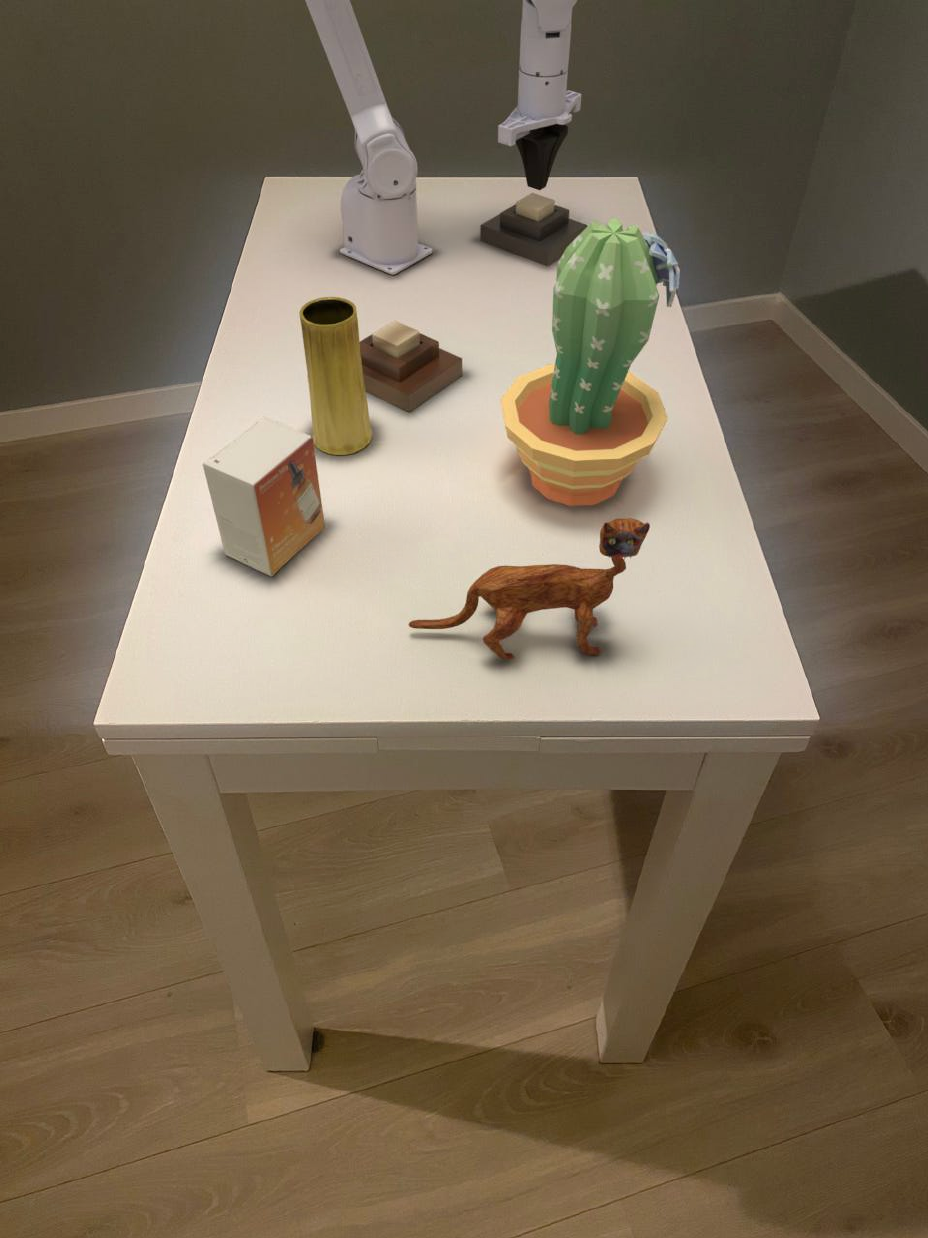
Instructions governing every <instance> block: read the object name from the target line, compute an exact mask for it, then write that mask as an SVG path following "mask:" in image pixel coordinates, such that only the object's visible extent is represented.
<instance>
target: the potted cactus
mask: <svg viewBox="0 0 928 1238" xmlns="http://www.w3.org/2000/svg"><path fill="white" fill-rule="evenodd" d="M587 225H588V227H587V228H586V229H585V230H584V231H583V232H582V233H581V234H580V235H579V236H578V237H577V238H576V239H575V240H574V241H573V242H572V243H571V244H570V245H569V246H568V247H567V248H566V250H565V252H564V253H563V255H562V257H561V258H559V259H558V262H557V264H556V281H555V284H554V286H553V287H552V288H553V290H552V318H551V319H552V321H551V332H552V337H553V342H554V346H555V351H556V357H555V361H554V363H550V364H547V365H545V366H542V367H539V368H537V369H534V370H532V371H530V372H527V373H525V374H522V375H520V376H517V377H516V379H514V381H513V382H512V384H511V385H510V386H509V388H508V389H507V390H506V391H505V393H504V394H503V395H502V397H501V398H500V404H501V410H502V417H503V421H504V427H505V431H506V437H507V439H509V440H510V441H511V442H512V444H514V445H515V446H516V449H517V452H518V454H519V457H520V459H521V462H522V463H523V464H524V465H525V467H527V469H528V470H529V474H530V479H531V485H532V487H533V488H535V489H536V490H537V491H538V493H540V494H541V495H542V496H544V498H546V499H547V500H549V501H552V502H556V503H559V504H563V505H566V506H568V507H579V506H595V505H597V504H599V503H601V502H603V501H606V500H607V499H610V498H613V497H614V495H616V492H617V491H618V488H619V487H620V485H621V483H622V480H623V479H625V478H626V477H627V476H629V475H630V474H631V473H632V471H633V469H634V468H635V467H636V465H637V463H638V462H639V460H640V459H642V458H645V457H647V456H649V455H650V453H651V452H652V450H653V447H654V446H655V444H656V443H657V441H658V439H659V437H660V435H661V433H662V432H663V429H664V427H665V426H666V423H667V421H668V418H669V417H668V415H667V414H668V413H667V411H666V409H665V406H664V403H663V401H662V398H661V396H660V393H659V392H658V391H657V390H655V389H654V388H653V387H652V386H650V385H649V384H647V383H646V382H644V381H643V380H642V379H640V378H639V377H637V376H636V375H634V374H633V373H632V372H630V371H629V370H630V368H631V365H632V364H633V363H634V361H635V360H636V359H637V357H638V356H639V354H640V353H641V351H642V350H643V349H644V347H645V346H646V345H647V343H648V342H649V339H650V336H651V332H652V329H653V323H654V319H655V316H656V312H657V307H658V303H659V300H660V293H659V289H658V287H657V286H658V284H662V286H663V287H665V290H666V292H665V293H666V307H667V308H672V306H673V304H674V299H675V297H676V292H677V290H679V288H680V286H679V285H680V275H681V273H680V272H681V269H680V268H679V266H678V265H679V263H678V261H677V259H676V257H675V255H674V253H673V251H672V249H670V248H669V247H668V244H667V243H666V242H665V240H663V239H662V238H661V237H660V236H659V235H658V234H655V233H649V232H642V231H641V230H640V228H639V226H637V225H636V224H634V225H630V226H628V227H627V228H626V230H623V224H622V222H621V219H620V218H618V217H611V219H610V220H609V221H608V222H607V223H606V225H603V224H602V223H600V222H597V221H595V220H593V221H591V222H590V223H589V224H587Z"/></svg>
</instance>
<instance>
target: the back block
mask: <svg viewBox="0 0 928 1238" xmlns="http://www.w3.org/2000/svg"><path fill="white" fill-rule="evenodd" d="M588 225H589V224H586V223H583V222H580V221H578V220H574V219H572V218H570V209H568V208H565V207H562V206H560V205H556V204H555V205H554V213H552V214H550V215H549V216H547V217H546V218H544V219H542V220H541V221H539V222H538V221H535V220H533V219H530V218H527V217H524V216H521V215H519V214H516V203H515V204H513V205H511V206H510V207H508V208H506V209H504V210H503V211H501V212H500V213H499V214H497V215H495V216H493V217H492V218H490V219H488V220H486V221H485V222H483V223H481V224H480V226H479V227H480V228H479V241H480V242H482V243H484V244H486V245H487V244H488V245H490V246H492V247H495V248H498V249H501V250H502V251H506V252H509V253H511V254H514V255H517V256H518V257H522V258H524V259H527V260H530V261H531V262H535V263H537V264H540V265H543V266H545V267H549V266H550V265H552V264H554V263H555V262H556V261H559V260H560V259H561V257H562V255H563V253H564V252H565V250H566V248H567V247H568V246H569V245H570V244H571V243H572V242H573V241H574V240H575V239H576V238H577V237H578V236H579V235H580V234H581V233H582V232H583V231H584V230H585V229H586V228H587V227H588Z"/></svg>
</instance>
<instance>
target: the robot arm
mask: <svg viewBox="0 0 928 1238" xmlns="http://www.w3.org/2000/svg"><path fill="white" fill-rule="evenodd" d="M304 1H305V4H306V7H307V8H308V11H309V14H310V17H311V20H312V21H313V24H314V26H315V27H314V28H315V29H316V32H317V35H318V37H319V40H320V42H321V45H322V47H323V50H324V52H325V55H326V57H327V60H328V63H329V65H330V67H331V70H332V73H333V76H334V78H335V80H336V84H337V86H338V89H339V91H340V93H341V95H342V96H341V97H342V99H343V102H344V104H345V107H346V109H347V111H348V114H349V116H350V119H351V122H352V124H353V127H354V140H353V141H354V142H353V143H354V149H355V153H356V155H357V157H358V158H359V160H360V164H361V166H362V169H361V172H360V174H356V175H354V176H352V177H351V178H350V179H349V180H348V181H347V182H346V183H345V184H344V187H343V189H342V192H341V197H340V213H341V223H342V224H341V225H342V235H343V244H344V247H342V248H340V249H339V251H340V254H342V255H344V256H346V257H349V258H351V259H353V260H356V261H357V262H358V261H359V262H361V263H363V264H365V265H368V266H370V267H373V268H375V269H377V270H379V271H382V272H384V273H387V274H389V275H393V276H394V275H396V274H398V273H400V272H401V271H404V270H405V269H407V268H409V267H411V266H412V265H414V264H416V263H417V262H419V261H421V260H422V259H425V258H426V257H427V256H429V255H432V254H433V251H434V249H433V248H432V247H429V246H426V245H425V244H422V243H420V242H419V230H418V229H419V228H418V227H419V226H418V200H417V199H418V198H417V180H416V179H417V177H418V172H419V171H418V169H419V167H418V162H417V158H416V157H415V155H414V152H412V151H411V149H410V147H409V143H408V142H407V140H406V135H405V132H404V130H403V128H402V126H401V125H400V124H399V122H398V121H397V120H396V119H395V118H393V116H392V114H391V111H390V109H389V107H388V104H387V101H386V98H385V95H384V92H383V90H382V86H381V84H380V81H379V79H378V76H377V72H376V70H375V67H374V64H373V62H372V59H371V56H370V53H369V49H368V48H367V45H366V42H365V39H364V36H363V33H362V31H361V27H360V24H359V22H358V19H357V17H356V14H355V11H354V8H353V5H352V3H351V0H304ZM577 2H578V0H522V11H521V13H522V14H521V23H520V39H519V40H520V41H519V63H518V64H519V65H518V67H519V69H518V88H517V89H518V90H517V106H516V107H515V108H514V109H513V110H512V111H511V113H510V115H509V116H508V117H507V118H506V119H505V121H503V122H502V123H500V124H498V126H497V127H498V128H497V143H499V144H502V145H504V146H508V147H513V146H515V145H516V147H517V149H518V152H519V154H520V157H521V160H522V161H521V162H522V165H523V169H524V175H525V180H526V185H527V187H528V188H531V189H534V190H537V191H542V190H543V189H545V188H546V187H547V185H548V181H549V178H550V175H551V173H552V168H553V166H554V162H555V160H556V157H557V154H558V152H559V150H560V148H561V146H562V144H563V142H564V140H565V139H566V137H567V136H568V135H569V127H568V124H569V123H570V122H572V121H573V120H572V119H573V115H572V114H571V112H572V113H577V112H579V111H581V103H582V93H579V92H576V91H572V90H567V88H568V75H569V62H570V52H571V51H570V50H571V37H572V17H573V8H574V6H575V5H576V4H577ZM566 124H567V125H566Z"/></svg>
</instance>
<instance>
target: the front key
mask: <svg viewBox="0 0 928 1238" xmlns="http://www.w3.org/2000/svg"><path fill="white" fill-rule="evenodd" d="M420 333H421V332H420V330H418V329H415V328H413V327H411V326H408V325H406V324H404V323H401V322H400V321H397V320H392V321H391V322H390V323H388V324H386V325H385V327H384V326H383V327H382V328H379V329H378V330H376V331H375V332H373V333H371V334H372V337H373V347H374V348H376V349H378V350H380V351H382V352H384V353H387V354H389V355H391V356H393V357H395V358H397V359H399V358H400V357H402V356H403V355H405V354H406V353H408V352H410V351H411V350H413V349H414V348H416V347H417V346H419V345H420Z"/></svg>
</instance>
